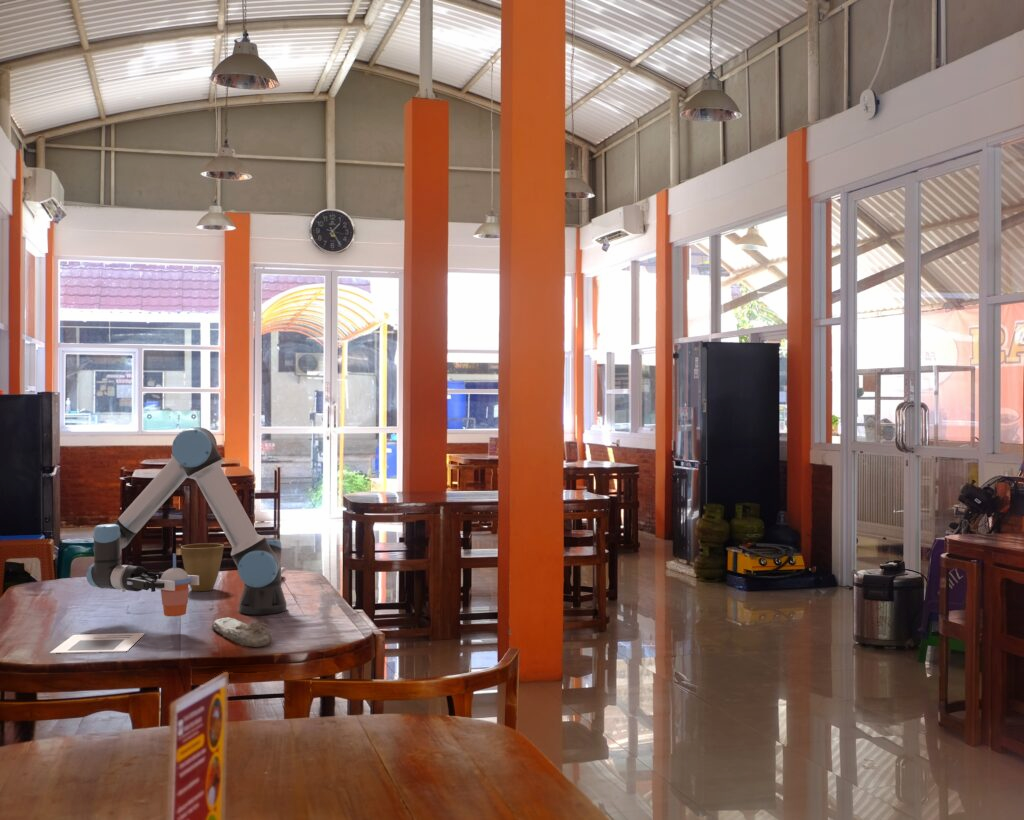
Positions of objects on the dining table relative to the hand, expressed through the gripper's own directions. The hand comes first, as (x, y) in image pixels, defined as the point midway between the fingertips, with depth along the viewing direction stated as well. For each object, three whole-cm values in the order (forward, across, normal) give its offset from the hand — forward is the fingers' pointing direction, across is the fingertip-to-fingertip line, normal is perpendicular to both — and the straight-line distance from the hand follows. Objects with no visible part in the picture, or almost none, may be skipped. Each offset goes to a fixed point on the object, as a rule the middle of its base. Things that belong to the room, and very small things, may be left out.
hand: (186, 583), depth 305 cm
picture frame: (-12, +21, -14) cm, 28 cm away
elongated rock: (+16, -5, -16) cm, 23 cm away
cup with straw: (-5, 0, -10) cm, 11 cm away
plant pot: (-48, -56, -15) cm, 75 cm away
